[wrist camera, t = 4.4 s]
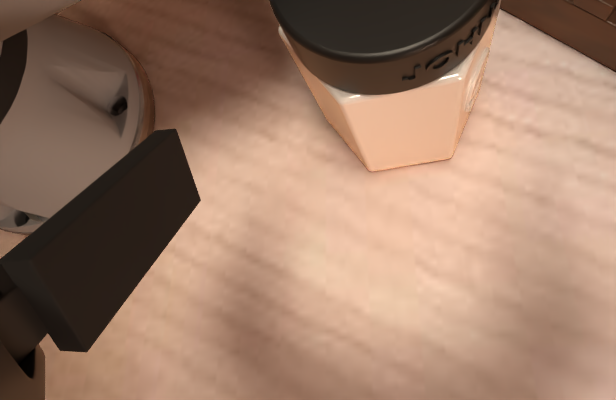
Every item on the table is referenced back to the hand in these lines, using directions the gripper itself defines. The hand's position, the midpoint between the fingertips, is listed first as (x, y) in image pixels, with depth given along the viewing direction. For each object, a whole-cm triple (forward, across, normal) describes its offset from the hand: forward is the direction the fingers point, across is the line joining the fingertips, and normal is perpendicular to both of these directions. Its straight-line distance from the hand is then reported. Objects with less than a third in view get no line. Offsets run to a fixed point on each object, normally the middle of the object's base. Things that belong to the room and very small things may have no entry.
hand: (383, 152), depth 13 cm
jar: (+14, 0, -4) cm, 14 cm away
